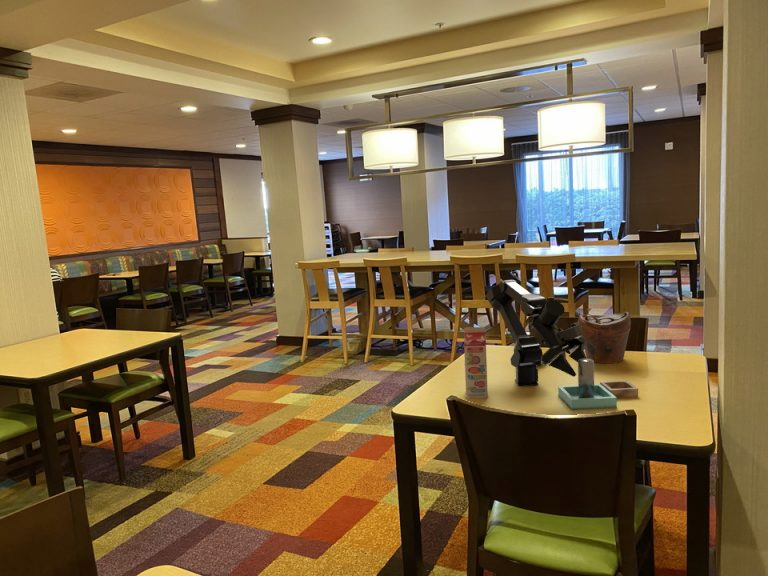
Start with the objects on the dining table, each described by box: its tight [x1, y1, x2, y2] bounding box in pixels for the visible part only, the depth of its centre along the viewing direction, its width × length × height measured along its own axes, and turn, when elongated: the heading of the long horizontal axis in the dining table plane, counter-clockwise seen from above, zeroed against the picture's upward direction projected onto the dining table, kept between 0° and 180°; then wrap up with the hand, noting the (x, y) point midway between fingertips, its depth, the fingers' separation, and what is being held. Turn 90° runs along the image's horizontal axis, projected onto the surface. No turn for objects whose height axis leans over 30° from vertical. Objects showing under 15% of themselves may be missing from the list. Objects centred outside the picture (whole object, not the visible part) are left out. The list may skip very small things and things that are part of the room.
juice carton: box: [463, 326, 489, 399], centre depth 187 cm, size 7×7×22 cm
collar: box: [599, 379, 639, 399], centre depth 183 cm, size 8×8×2 cm
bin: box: [557, 383, 618, 411], centre depth 177 cm, size 13×13×3 cm
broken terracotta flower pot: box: [577, 311, 632, 364], centre depth 220 cm, size 18×20×18 cm
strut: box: [577, 359, 595, 398], centre depth 176 cm, size 4×4×12 cm
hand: (582, 372), depth 177 cm, fingers open, 9 cm apart
